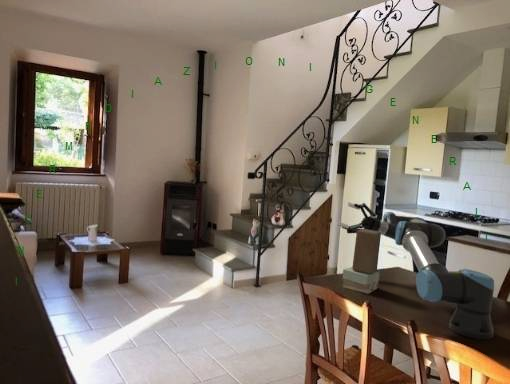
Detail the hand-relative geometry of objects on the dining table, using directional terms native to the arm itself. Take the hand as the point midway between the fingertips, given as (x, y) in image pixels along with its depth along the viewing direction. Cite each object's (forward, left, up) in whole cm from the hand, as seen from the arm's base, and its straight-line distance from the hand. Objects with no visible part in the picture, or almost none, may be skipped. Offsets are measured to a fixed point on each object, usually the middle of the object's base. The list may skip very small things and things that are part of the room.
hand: (342, 213), depth 226 cm
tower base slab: (-15, -19, -34) cm, 42 cm away
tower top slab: (-15, -19, -29) cm, 38 cm away
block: (-14, -20, -25) cm, 35 cm away
